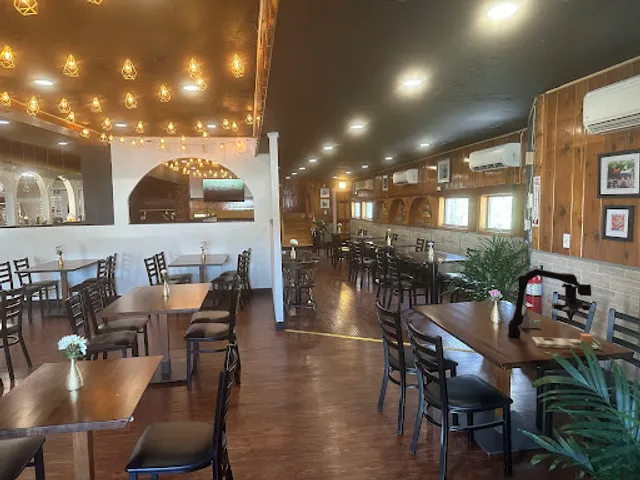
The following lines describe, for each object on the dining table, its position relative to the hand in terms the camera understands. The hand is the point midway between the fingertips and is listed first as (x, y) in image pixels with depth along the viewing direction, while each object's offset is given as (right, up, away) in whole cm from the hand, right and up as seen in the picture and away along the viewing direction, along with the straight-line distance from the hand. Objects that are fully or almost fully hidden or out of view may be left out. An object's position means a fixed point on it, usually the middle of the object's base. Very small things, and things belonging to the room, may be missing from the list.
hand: (570, 320), depth 253 cm
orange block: (+7, -11, -4) cm, 14 cm away
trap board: (-5, -13, -4) cm, 15 cm away
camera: (-7, -11, +34) cm, 37 cm away
